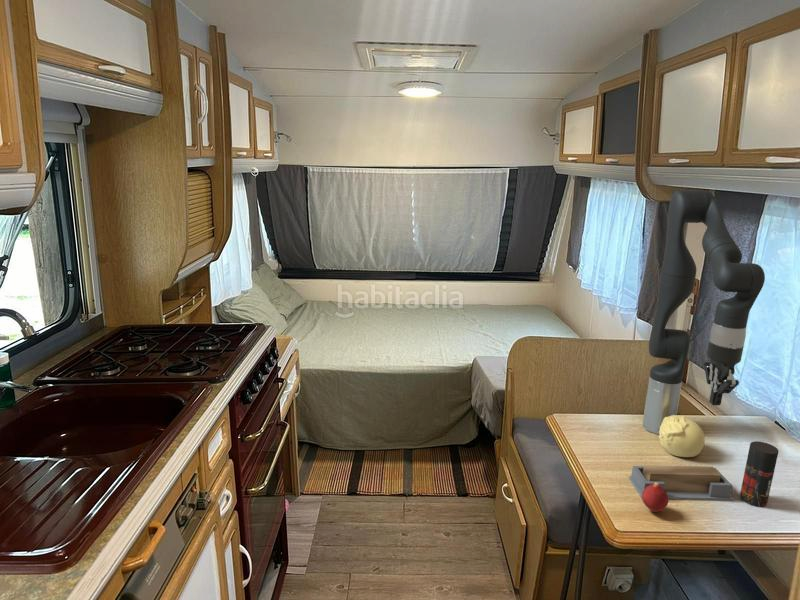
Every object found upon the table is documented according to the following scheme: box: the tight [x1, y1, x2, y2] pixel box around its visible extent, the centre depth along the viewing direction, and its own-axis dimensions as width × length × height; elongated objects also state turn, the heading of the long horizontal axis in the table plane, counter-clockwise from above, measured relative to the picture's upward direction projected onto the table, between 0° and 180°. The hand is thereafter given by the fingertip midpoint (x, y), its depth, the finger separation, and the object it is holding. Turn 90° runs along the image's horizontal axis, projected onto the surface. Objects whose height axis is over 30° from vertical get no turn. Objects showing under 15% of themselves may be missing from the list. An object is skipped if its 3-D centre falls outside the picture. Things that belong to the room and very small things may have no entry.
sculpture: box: [658, 414, 706, 458], centre depth 160 cm, size 11×12×11 cm
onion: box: [641, 482, 669, 513], centre depth 133 cm, size 6×6×8 cm
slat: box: [643, 464, 721, 492], centre depth 143 cm, size 4×18×5 cm, turn 89°
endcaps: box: [627, 465, 734, 502], centre depth 143 cm, size 9×23×4 cm, turn 89°
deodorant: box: [739, 440, 779, 508], centre depth 137 cm, size 6×6×15 cm
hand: (714, 404), depth 141 cm, fingers closed
